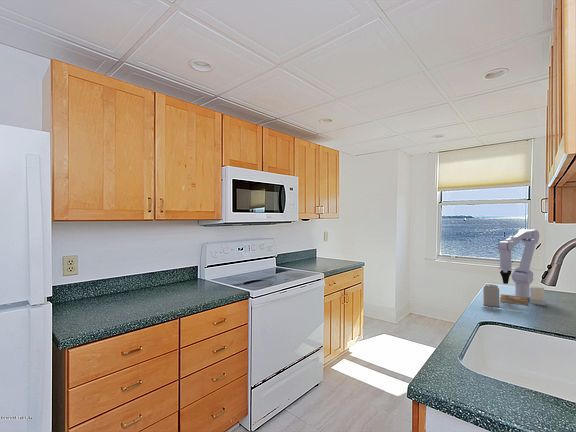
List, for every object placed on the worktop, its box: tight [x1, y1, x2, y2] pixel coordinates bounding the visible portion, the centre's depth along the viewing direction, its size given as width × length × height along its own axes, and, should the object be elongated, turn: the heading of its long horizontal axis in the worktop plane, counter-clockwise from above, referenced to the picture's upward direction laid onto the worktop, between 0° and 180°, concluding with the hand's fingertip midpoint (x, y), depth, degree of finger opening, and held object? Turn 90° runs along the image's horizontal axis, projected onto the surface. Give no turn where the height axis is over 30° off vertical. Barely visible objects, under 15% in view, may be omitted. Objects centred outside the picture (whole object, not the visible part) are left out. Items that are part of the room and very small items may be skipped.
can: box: [482, 283, 500, 308], centre depth 173 cm, size 8×8×12 cm
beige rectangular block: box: [530, 286, 545, 301], centre depth 178 cm, size 2×6×9 cm, turn 52°
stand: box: [529, 298, 547, 306], centre depth 177 cm, size 6×7×3 cm
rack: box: [499, 293, 529, 306], centre depth 182 cm, size 13×13×3 cm
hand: (505, 282), depth 188 cm, fingers open, 7 cm apart
